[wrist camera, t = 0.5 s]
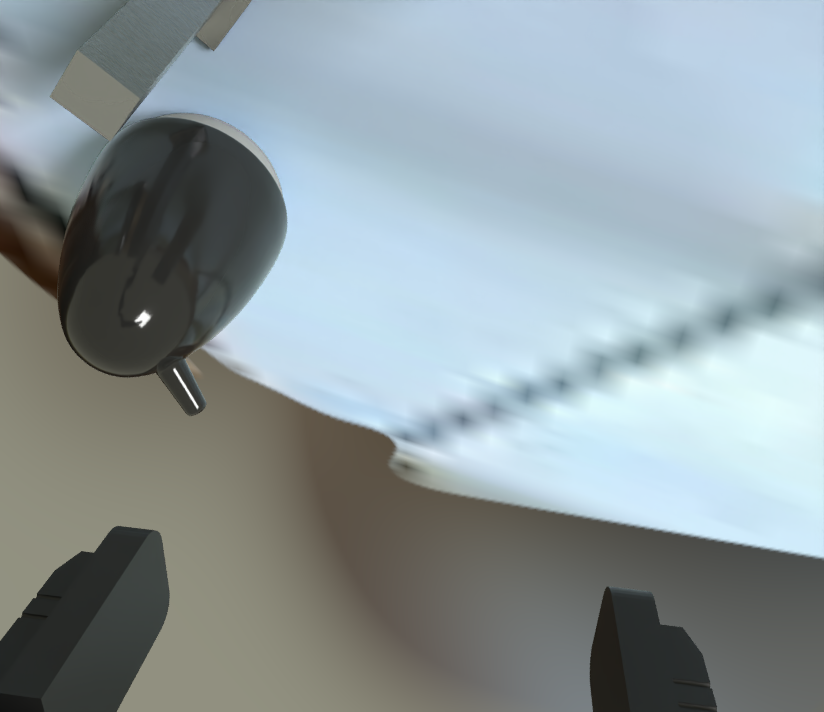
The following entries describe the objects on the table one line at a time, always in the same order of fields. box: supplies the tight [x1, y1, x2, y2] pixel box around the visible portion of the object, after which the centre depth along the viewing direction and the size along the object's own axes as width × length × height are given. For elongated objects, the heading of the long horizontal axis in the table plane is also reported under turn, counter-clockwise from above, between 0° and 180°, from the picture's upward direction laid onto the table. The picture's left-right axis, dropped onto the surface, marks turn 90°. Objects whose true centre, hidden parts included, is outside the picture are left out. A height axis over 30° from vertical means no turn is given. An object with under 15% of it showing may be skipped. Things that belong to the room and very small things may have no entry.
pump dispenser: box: [58, 113, 287, 416], centre depth 37 cm, size 10×10×15 cm
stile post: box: [50, 0, 252, 141], centre depth 30 cm, size 4×4×12 cm
